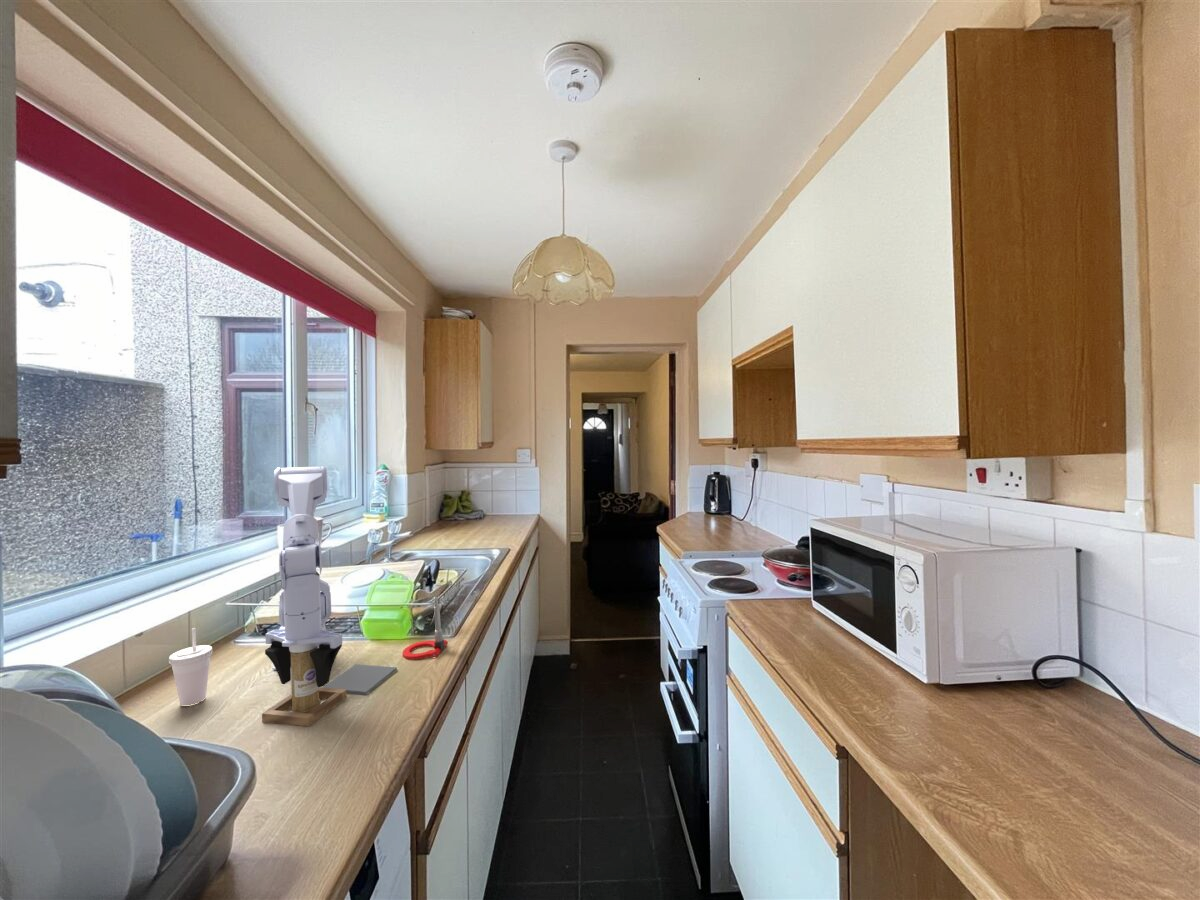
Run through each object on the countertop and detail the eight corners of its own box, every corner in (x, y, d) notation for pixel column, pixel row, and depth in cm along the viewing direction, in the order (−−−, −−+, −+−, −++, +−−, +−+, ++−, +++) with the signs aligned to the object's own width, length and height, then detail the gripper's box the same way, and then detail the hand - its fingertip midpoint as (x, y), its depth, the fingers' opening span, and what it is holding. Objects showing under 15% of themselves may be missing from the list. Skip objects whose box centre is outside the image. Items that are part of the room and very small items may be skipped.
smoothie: (221, 696, 92) (218, 626, 92) (181, 714, 87) (178, 638, 86) (203, 690, 95) (200, 621, 95) (163, 706, 89) (160, 633, 89)
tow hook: (396, 662, 107) (436, 660, 106) (391, 605, 107) (432, 603, 106) (412, 646, 115) (449, 644, 115) (408, 593, 115) (446, 591, 114)
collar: (262, 721, 84) (261, 713, 84) (304, 693, 93) (303, 685, 93) (308, 726, 82) (308, 718, 82) (346, 697, 91) (346, 689, 91)
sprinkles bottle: (304, 718, 85) (301, 643, 84) (285, 714, 86) (282, 641, 86) (326, 704, 89) (323, 633, 89) (307, 700, 91) (305, 631, 90)
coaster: (321, 691, 94) (321, 688, 94) (355, 666, 104) (355, 664, 104) (366, 694, 92) (366, 691, 92) (396, 669, 102) (396, 667, 102)
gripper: (249, 616, 85) (252, 691, 85) (320, 620, 82) (323, 697, 82) (282, 602, 91) (285, 672, 92) (349, 606, 89) (351, 677, 89)
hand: (305, 682), depth 88 cm, fingers open, 7 cm apart
